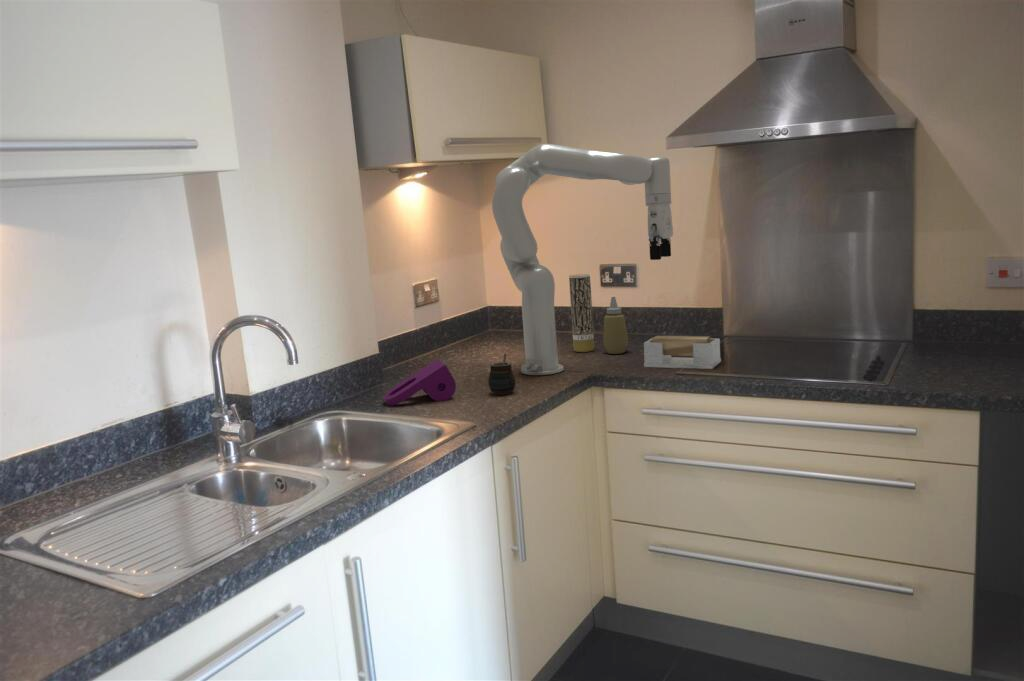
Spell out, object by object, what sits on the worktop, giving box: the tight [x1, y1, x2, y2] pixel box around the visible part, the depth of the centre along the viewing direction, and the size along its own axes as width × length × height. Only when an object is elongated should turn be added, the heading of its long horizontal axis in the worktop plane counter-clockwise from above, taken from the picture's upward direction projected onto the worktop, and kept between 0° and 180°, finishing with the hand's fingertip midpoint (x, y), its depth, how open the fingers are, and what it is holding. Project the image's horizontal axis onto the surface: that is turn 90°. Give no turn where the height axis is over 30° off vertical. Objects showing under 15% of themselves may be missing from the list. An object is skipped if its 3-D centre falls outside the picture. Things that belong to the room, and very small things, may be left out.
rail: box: [652, 335, 711, 357], centre depth 245 cm, size 4×16×5 cm, turn 62°
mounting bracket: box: [383, 358, 457, 407], centre depth 225 cm, size 10×8×18 cm
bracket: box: [643, 337, 722, 370], centre depth 245 cm, size 10×20×7 cm, turn 63°
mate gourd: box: [487, 353, 517, 396], centre depth 225 cm, size 7×8×10 cm
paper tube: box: [568, 273, 595, 353], centre depth 276 cm, size 7×7×25 cm
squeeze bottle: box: [602, 296, 629, 355], centre depth 269 cm, size 8×8×18 cm
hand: (660, 258), depth 252 cm, fingers open, 9 cm apart
